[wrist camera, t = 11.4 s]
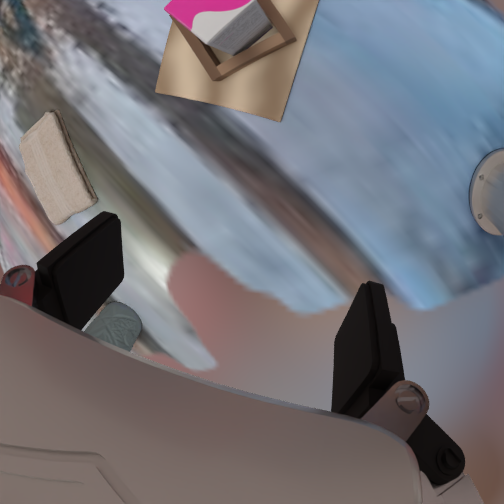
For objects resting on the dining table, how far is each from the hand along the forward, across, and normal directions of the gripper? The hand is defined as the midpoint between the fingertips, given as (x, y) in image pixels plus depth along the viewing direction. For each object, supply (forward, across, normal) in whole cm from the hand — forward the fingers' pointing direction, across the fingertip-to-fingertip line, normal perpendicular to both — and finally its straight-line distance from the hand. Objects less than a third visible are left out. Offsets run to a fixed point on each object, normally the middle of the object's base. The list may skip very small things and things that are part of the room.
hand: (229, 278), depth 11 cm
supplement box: (+27, +9, -13) cm, 31 cm away
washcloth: (+28, +37, +10) cm, 47 cm away
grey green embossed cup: (+27, +25, +39) cm, 54 cm away
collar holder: (+28, +9, -13) cm, 32 cm away
